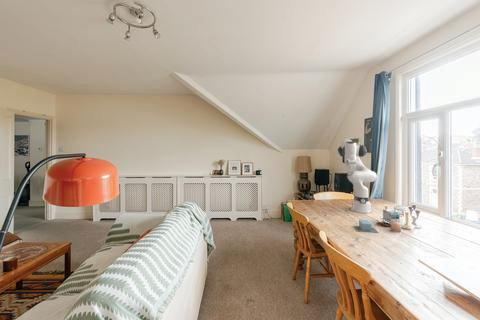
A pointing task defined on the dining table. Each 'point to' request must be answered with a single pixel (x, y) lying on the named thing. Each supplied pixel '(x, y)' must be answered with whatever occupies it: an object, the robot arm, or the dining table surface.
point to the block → (365, 225)
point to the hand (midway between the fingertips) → (350, 177)
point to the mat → (365, 231)
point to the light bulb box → (391, 215)
